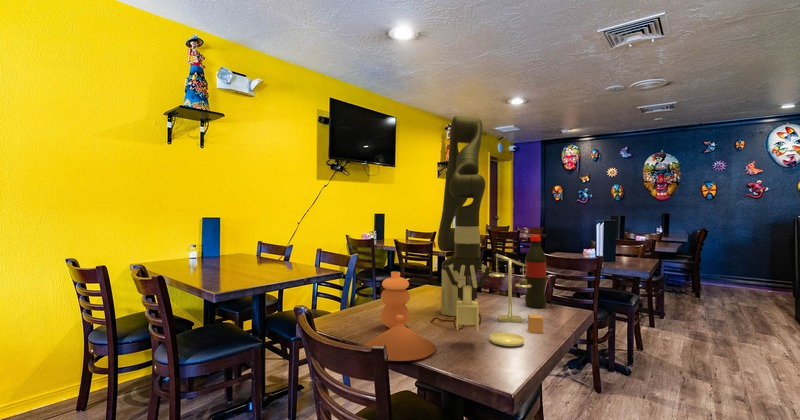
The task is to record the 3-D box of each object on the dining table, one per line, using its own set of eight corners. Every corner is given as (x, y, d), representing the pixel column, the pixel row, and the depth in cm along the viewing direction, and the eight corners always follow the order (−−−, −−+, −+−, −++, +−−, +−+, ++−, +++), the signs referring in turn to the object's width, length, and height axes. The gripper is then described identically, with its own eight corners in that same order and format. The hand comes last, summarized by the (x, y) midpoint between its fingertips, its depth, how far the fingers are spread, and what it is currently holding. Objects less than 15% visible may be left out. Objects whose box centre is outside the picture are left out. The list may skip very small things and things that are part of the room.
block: (530, 332, 124) (530, 317, 124) (528, 329, 128) (528, 314, 128) (543, 333, 124) (543, 318, 124) (540, 329, 128) (540, 314, 128)
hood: (456, 329, 110) (456, 288, 110) (456, 323, 116) (456, 284, 116) (478, 330, 109) (478, 288, 109) (477, 324, 115) (477, 285, 115)
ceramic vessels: (441, 359, 101) (442, 289, 101) (362, 361, 99) (362, 289, 100) (423, 322, 136) (423, 269, 136) (364, 323, 134) (365, 270, 134)
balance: (489, 321, 137) (489, 254, 137) (488, 317, 142) (488, 252, 143) (532, 323, 135) (532, 255, 135) (529, 319, 140) (529, 253, 141)
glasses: (455, 332, 126) (455, 317, 126) (429, 322, 136) (429, 308, 136) (482, 325, 133) (482, 311, 134) (456, 317, 144) (456, 304, 144)
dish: (491, 347, 110) (491, 342, 110) (488, 336, 120) (488, 331, 120) (526, 349, 109) (526, 343, 109) (520, 337, 119) (520, 333, 119)
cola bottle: (543, 305, 162) (543, 235, 163) (549, 310, 154) (549, 236, 154) (522, 304, 163) (522, 234, 163) (527, 309, 155) (527, 235, 155)
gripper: (443, 242, 110) (443, 302, 110) (492, 242, 108) (492, 303, 108) (443, 240, 117) (443, 296, 117) (490, 241, 115) (490, 298, 115)
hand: (467, 299), depth 112 cm, fingers closed on hood, 3 cm apart
